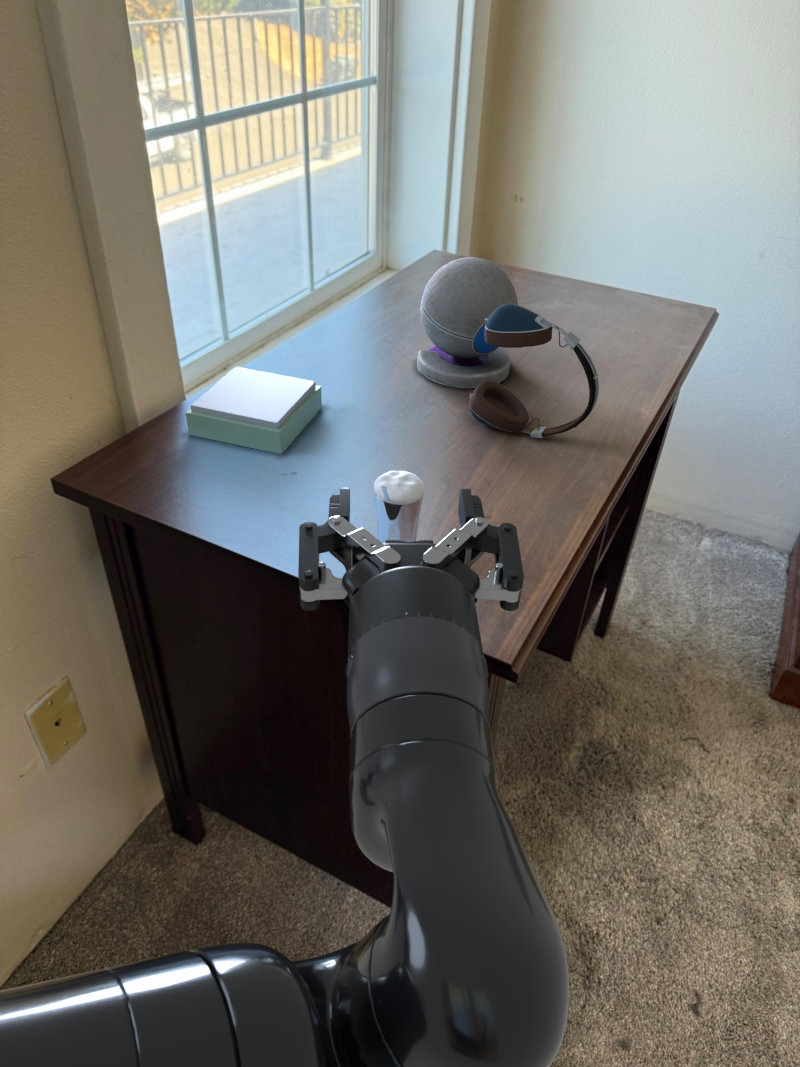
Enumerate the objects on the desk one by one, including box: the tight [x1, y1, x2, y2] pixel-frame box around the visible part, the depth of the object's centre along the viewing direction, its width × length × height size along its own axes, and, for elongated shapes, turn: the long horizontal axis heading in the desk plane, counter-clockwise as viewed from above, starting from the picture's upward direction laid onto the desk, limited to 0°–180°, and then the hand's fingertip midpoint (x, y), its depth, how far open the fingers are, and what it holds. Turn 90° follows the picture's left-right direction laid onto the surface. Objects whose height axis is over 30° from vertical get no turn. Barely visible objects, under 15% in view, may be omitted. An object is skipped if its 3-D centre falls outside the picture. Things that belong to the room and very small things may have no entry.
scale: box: [185, 366, 323, 455], centre depth 90 cm, size 12×12×4 cm
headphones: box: [420, 304, 600, 439], centre depth 88 cm, size 6×15×22 cm
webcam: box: [416, 256, 519, 389], centre depth 100 cm, size 13×13×15 cm
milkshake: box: [373, 470, 426, 544], centre depth 69 cm, size 4×5×10 cm
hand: (405, 498), depth 53 cm, fingers open, 8 cm apart
